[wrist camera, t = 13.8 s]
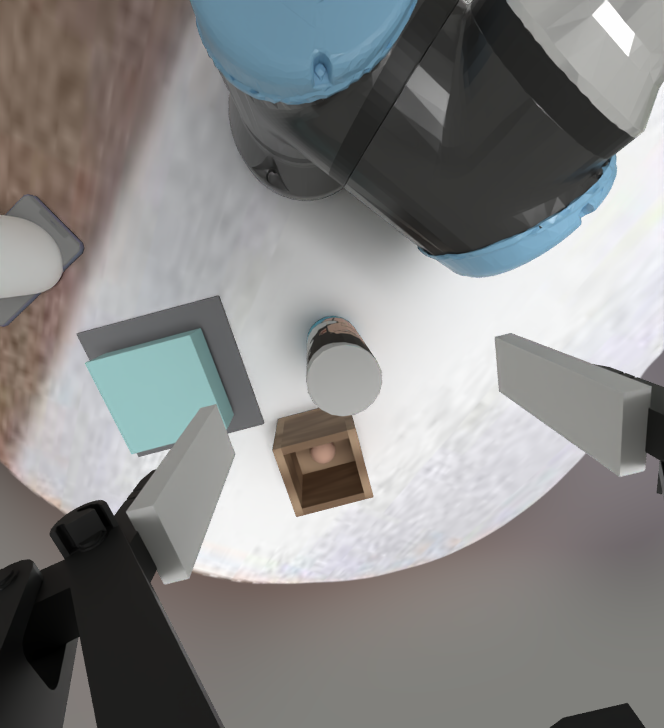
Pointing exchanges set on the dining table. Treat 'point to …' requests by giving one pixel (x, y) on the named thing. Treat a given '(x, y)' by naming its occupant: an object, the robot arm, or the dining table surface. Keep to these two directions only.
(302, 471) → the box
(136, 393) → the lid
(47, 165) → the dining table surface
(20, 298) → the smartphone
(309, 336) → the printed grey cylinder
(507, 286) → the dining table surface
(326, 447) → the ball
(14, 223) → the mug
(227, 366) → the mat
